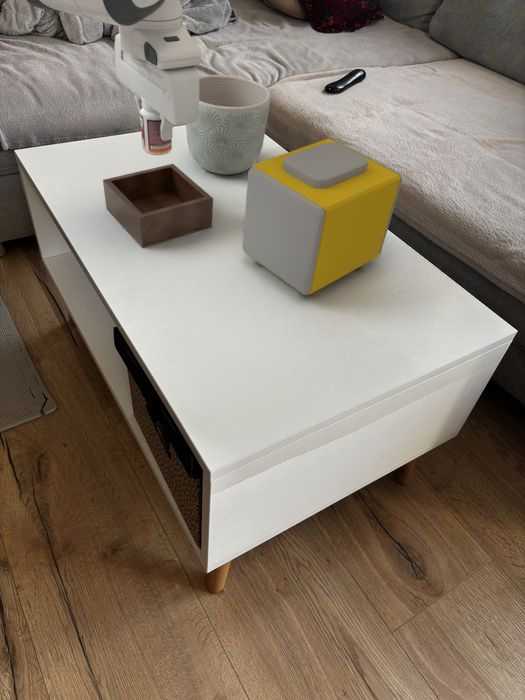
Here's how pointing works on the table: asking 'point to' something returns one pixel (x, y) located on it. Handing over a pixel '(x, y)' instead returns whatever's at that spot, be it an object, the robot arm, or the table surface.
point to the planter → (228, 123)
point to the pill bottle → (152, 131)
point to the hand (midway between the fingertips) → (156, 131)
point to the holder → (158, 204)
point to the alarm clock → (318, 213)
